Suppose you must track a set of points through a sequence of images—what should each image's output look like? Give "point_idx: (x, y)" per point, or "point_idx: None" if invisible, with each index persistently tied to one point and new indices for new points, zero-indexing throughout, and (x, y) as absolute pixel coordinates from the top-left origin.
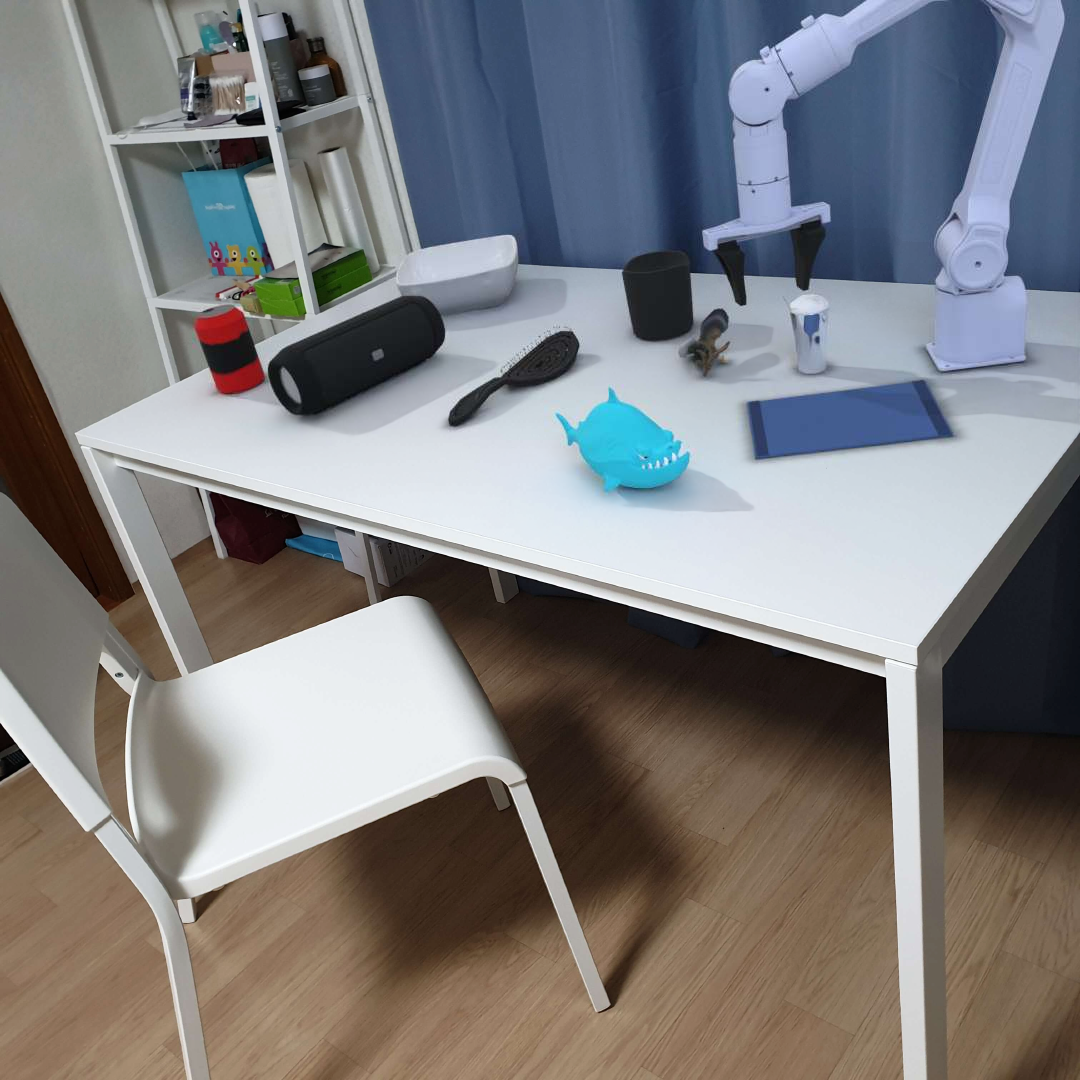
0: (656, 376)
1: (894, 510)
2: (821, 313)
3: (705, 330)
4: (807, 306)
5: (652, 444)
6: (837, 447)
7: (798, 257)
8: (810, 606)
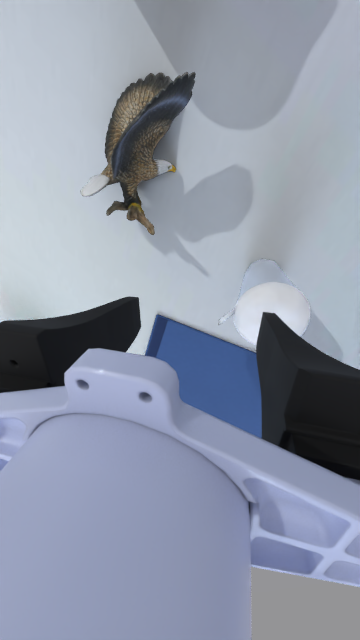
0: (74, 151)
1: None
2: None
3: (129, 141)
4: (253, 341)
5: None
6: None
7: (270, 365)
8: None
